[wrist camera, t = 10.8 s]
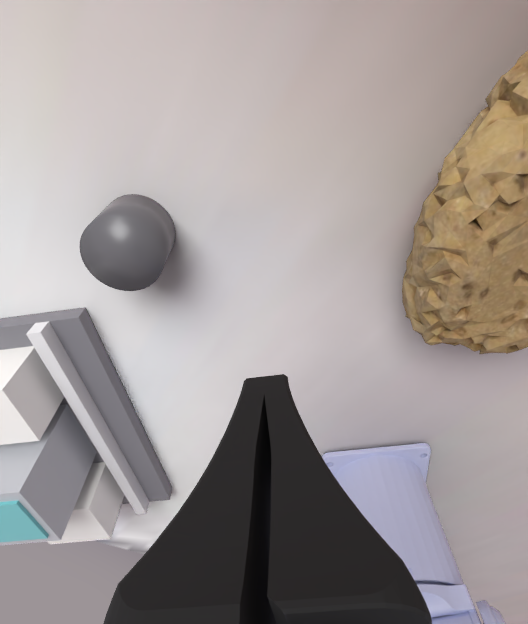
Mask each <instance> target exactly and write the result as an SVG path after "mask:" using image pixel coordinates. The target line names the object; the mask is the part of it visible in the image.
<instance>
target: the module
mask: <svg viewBox="0 0 528 624" xmlns="http://www.w3.org/2000/svg"><path fill="white" fill-rule="evenodd" d="M96 453H97V452H96V450H95V449H94V447H93V445H92V444H91V442H90V441H89V439H88V437H87V436H86V434H85V432H84V431H83V429H82V428H81V426H80V424H79V423H78V421H77V419H76V418H75V416H74V414H73V413H72V411H71V410H70V408H69V406H68V405H67V404H65V405H59V407H58V409H57V411H56V412H55V414H54V416H53V418H52V420H51V421H50V423H49V425H48V427H47V428H46V430H45V432H44V434H43V435H42V437H41V439H40V441H33V442H24V443H14V444H5V445H0V545H10V544H22V543H33V542H45V541H58V540H61V539H62V536H63V534H64V531H65V529H66V527H67V524H68V522H69V519H70V517H71V514H72V512H73V509H74V507H75V504H76V502H77V500H78V497H79V495H80V492H81V490H82V487H83V485H84V482H85V480H86V477H87V475H88V473H89V470H90V468H91V465H92V463H93V460H94V458H95V455H96Z"/></svg>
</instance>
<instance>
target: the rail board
mask: <svg viewBox="0 0 528 624" xmlns="http://www.w3.org/2000/svg"><path fill="white" fill-rule="evenodd" d="M65 404H67V405H68V406H69V408H70V410H71V411H72V413H73V414H74V416H75V418H76V419H77V421H78V423H79V424H80V426H81V428H82V429H83V431H84V432H85V434H86V436H87V437H88V439H89V441H90V442H91V444H92V445H93V447H94V449H95V450H96V452H97V453H96V455H95V458H94V460H93V463H92V465H91V468H90V470H89V473H88V475H87V477H86V480H85V482H84V485H83V487H82V490H81V492H80V495H79V497H78V500H77V502H76V504H75V507H74V509H73V512H72V514H71V517H70V519H69V522H68V524H67V527H66V529H65V531H64V534H63V536H62V539H61V540H58V541H47V542H48V543H49V544H58V543H70V542H81V541H93V540H105V539H111V537H112V534H113V531H114V528H115V524H116V521H117V518H118V514H119V511H120V508H121V505H122V504H126V503H130V505H131V506H132V508H133V509H134V511H135V513H136V514H146V513H147V509H148V505H149V501H159V500H170V496H171V491H172V486H171V484H170V482H169V480H168V478H167V476H166V474H165V472H164V470H163V468H162V466H161V464H160V461H159V459H158V457H157V455H156V453H155V451H154V449H153V447H152V445H151V443H150V441H149V439H148V437H147V435H146V432H145V430H144V428H143V426H142V424H141V422H140V420H139V418H138V416H137V414H136V412H135V410H134V408H133V405H132V403H131V401H130V399H129V397H128V395H127V393H126V391H125V389H124V387H123V385H122V383H121V381H120V378H119V376H118V374H117V372H116V370H115V368H114V366H113V364H112V362H111V360H110V358H109V356H108V354H107V352H106V349H105V347H104V345H103V343H102V341H101V339H100V337H99V335H98V333H97V331H96V329H95V327H94V325H93V322H92V320H91V318H90V316H89V314H88V312H87V310H86V308H78V309H70V310H63V311H55V312H47V313H40V314H32V315H24V316H17V317H9V318H1V319H0V445H5V444H14V443H24V442H33V441H40V439H41V437H42V435H43V434H44V432H45V430H46V428H47V427H48V425H49V423H50V421H51V420H52V418H53V416H54V414H55V412H56V411H57V409H58V407H59V405H65Z"/></svg>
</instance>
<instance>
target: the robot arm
mask: <svg viewBox="0 0 528 624" xmlns="http://www.w3.org/2000/svg"><path fill="white" fill-rule="evenodd" d="M430 453H431V448H430V446H429V445H428V444H426V443H418V444H408V445H398V446H388V447H378V448H367V449H357V450H347V451H337V452H328V453H325V454H324V455H323V456H322V457H321V455H320V453H319V452H318V450H317V448H316V446H315V445H314V443H313V441H312V439H311V437H310V436H309V434H308V432H307V430H306V428H305V426H304V424H303V421H302V419H301V417H300V415H299V413H298V411H297V408H296V406H295V403H294V401H293V398H292V395H291V392H290V388H289V384H288V377H287V376H285V375H284V374H282V375H274V376H265V377H256V378H247V379H246V380H245V381H244V384H243V387H242V391H241V394H240V397H239V400H238V403H237V405H236V408H235V410H234V413H233V415H232V418H231V420H230V422H229V425H228V427H227V429H226V432H225V434H224V436H223V438H222V440H221V442H220V444H219V446H218V448H217V450H216V452H215V454H214V456H213V458H212V459H211V461H210V463H209V465H208V467H207V468H206V470H205V472H204V473H203V475H202V477H201V478H200V480H199V482H198V483H197V485H196V487H195V488H194V490H193V491H192V493H191V494H190V496H189V497H188V499H187V500H186V502H185V503H184V504H183V506H182V507H181V509H180V510H179V512H178V513H177V514H176V516H175V517H174V518H173V520H172V521H171V522H170V523H169V525H168V526H167V527H166V529H165V530H164V531H163V532H162V534H161V535H160V536H159V538H158V539H157V540H156V541H155V543H154V544H153V545H152V546H151V548H150V549H149V550H148V551H147V552H146V553H145V554H144V556H143V557H142V558H141V559H140V560H139V561H138V562H137V564H136V565H135V566H134V567H133V568H132V569H131V570H130V572H129V573H128V574H127V575H126V576H125V577H124V578H123V579H122V581H120V583H119V584H118V586H117V588H116V591H115V593H114V596H113V598H112V601H111V604H110V606H109V609H108V611H107V614H106V617H105V621H104V624H481V622H480V619H479V617H478V614H477V612H476V609H475V607H474V604H473V602H472V599H471V597H470V594H469V592H468V589H467V587H466V585H465V584H464V582H463V580H462V577H461V575H460V572H459V569H458V567H457V564H456V562H455V559H454V556H453V554H452V551H451V549H450V546H449V543H448V541H447V538H446V536H445V533H444V530H443V528H442V525H441V523H440V520H439V517H438V515H437V512H436V510H435V507H434V505H433V502H432V499H431V497H430V494H429V492H428V489H427V486H426V479H427V472H428V466H429V459H430ZM476 603H477V606H478V609H479V611H480V614H481V616H482V619H483V621H484V623H483V624H506V623H505V621H504V619H503V617H502V615H501V613H500V612H499V611H498V610H497V609H495V608H494V607H492V606H489V604H488V602H487V601H485V600H482V601H479V602H476Z"/></svg>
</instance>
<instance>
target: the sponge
mask: <svg viewBox="0 0 528 624" xmlns="http://www.w3.org/2000/svg"><path fill="white" fill-rule="evenodd" d="M486 101H487V104H488V107H487V108H485V109H484V110H482V111H481V112H480V113H479V115H478V116H477V117H476V119H475V120H474V121H473V123H472V124H471V125H470V127H469V128H468V130H467V131H466V133H465V134H464V135H463V137H462V138H461V139H460V141H459V142H458V143H457V144H456V146H455V147H454V149H453V150H452V151H451V152H450V153H449V154H448V155H447V156H446V157H445V160H444V164H443V168H442V171H441V172H440V173H438V180H439V182H438V184H437V186H436V187H435V189H434V190H433V191H432V192H431V194H430V195H429V196H428V197H427V199H426V200H425V201H424V202H423V206H422V211H421V214H420V217H419V219H418V221H417V223H416V225H415V226H414V242H413V249H412V251H411V253H410V255H409V257H408V259H407V261H406V266H407V270H406V272H405V275H404V277H403V286H402V295H403V305H404V308H405V311H406V316H405V317H407V318H410V320H411V323H412V327H413V330H415V331H416V332H418V333H420V334H421V335H422V337H423V339H424V341H425V343H427V344H429V345H435V344H439V343H446V344H451V345H454V346H455V345H458V344H461V345H463V346H466V347H467V348H469V349H471V350H473V351H479V350H480V354H484V353H510V352H514V351H518V350H521V349H523V348H526V347H528V51H527V52H526V53H524V54H523V55H522V56H521V57H520V58H519V59H518V61H517V63H516V65H515V66H514V67H513V68H512V69H511V70H509V71H508V72H507V73H506V74H504V75H503V76H501V78H500V79H499V80H498V82H497V83H496V85H495V86H494V88H493V89H492V91H491V92H490V94H489V95H488V96H487V98H486Z"/></svg>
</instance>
